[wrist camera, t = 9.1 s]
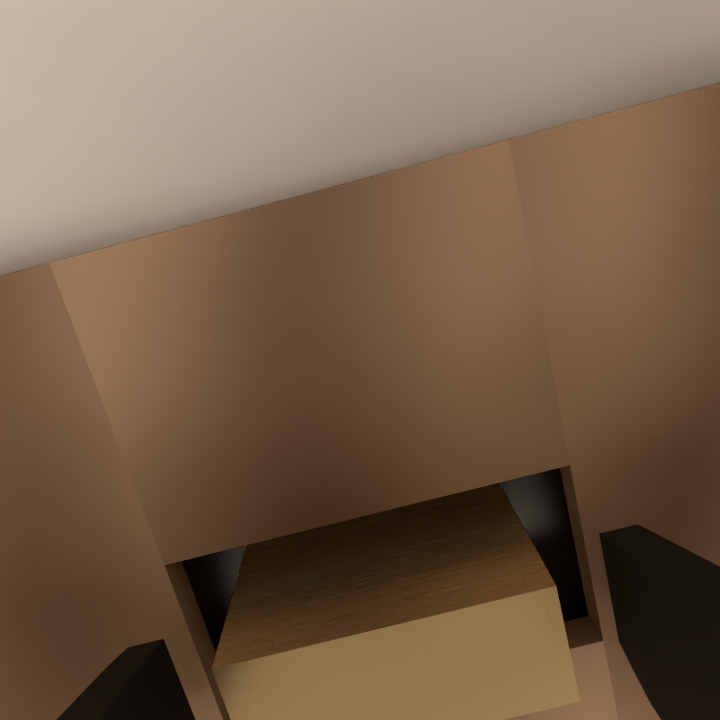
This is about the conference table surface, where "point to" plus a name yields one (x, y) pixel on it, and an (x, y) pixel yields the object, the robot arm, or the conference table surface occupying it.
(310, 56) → the conference table surface
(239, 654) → the wooden block
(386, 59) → the conference table surface
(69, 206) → the conference table surface
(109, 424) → the wooden board with recess
